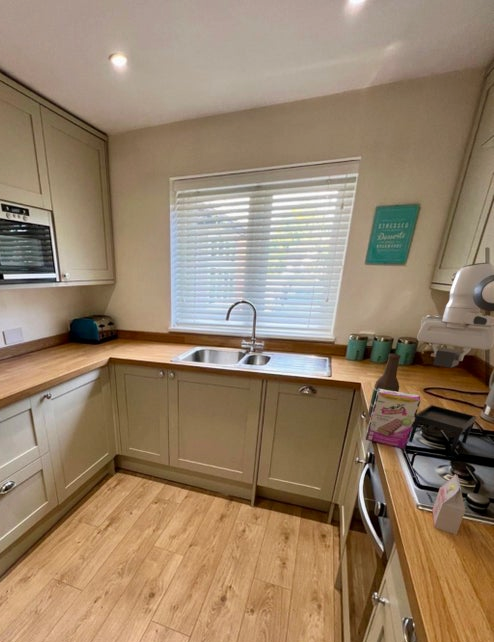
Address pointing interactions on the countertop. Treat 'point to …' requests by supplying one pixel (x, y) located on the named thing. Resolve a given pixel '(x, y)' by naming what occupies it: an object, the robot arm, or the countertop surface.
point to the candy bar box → (392, 418)
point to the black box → (447, 357)
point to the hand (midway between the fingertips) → (447, 358)
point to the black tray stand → (445, 422)
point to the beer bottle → (387, 379)
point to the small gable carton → (449, 506)
